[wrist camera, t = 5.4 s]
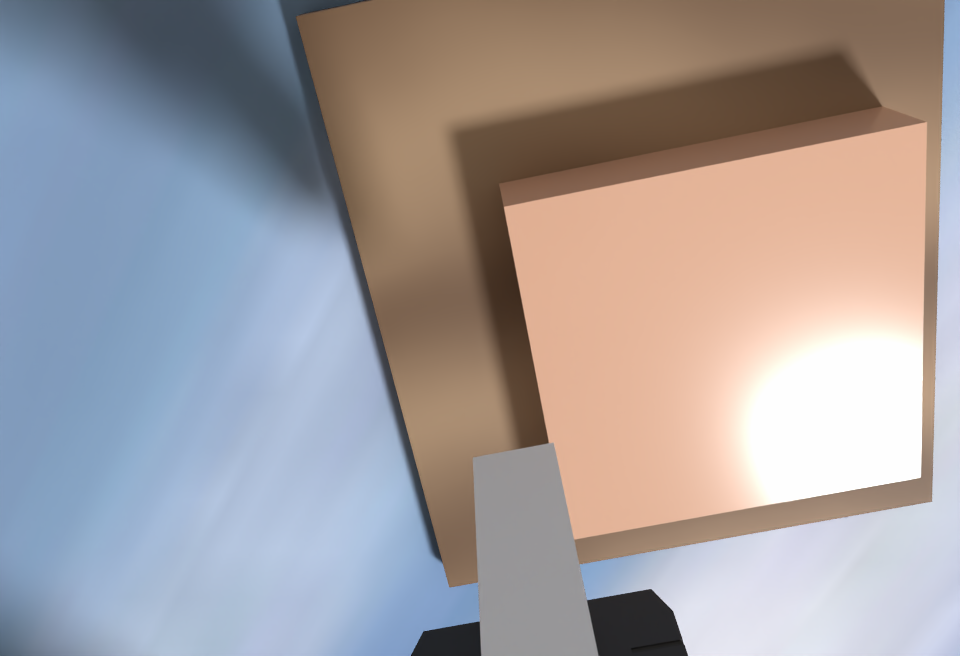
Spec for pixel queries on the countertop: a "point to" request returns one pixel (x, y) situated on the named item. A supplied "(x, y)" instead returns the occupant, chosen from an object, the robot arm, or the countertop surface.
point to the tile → (728, 318)
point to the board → (567, 145)
